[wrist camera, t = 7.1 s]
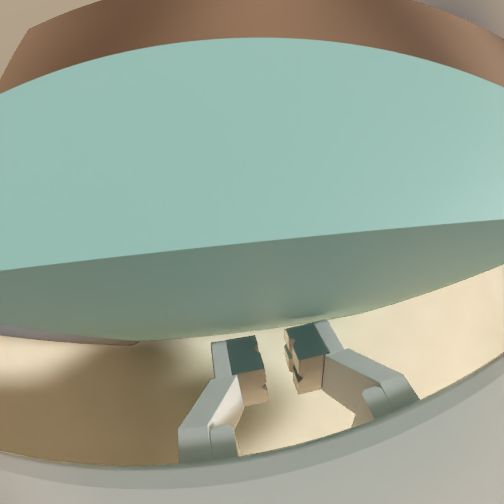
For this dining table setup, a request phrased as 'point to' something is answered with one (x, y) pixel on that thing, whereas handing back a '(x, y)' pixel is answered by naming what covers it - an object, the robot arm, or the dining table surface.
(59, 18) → the wooden board
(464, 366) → the dining table surface
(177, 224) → the teal square slab
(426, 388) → the dining table surface
